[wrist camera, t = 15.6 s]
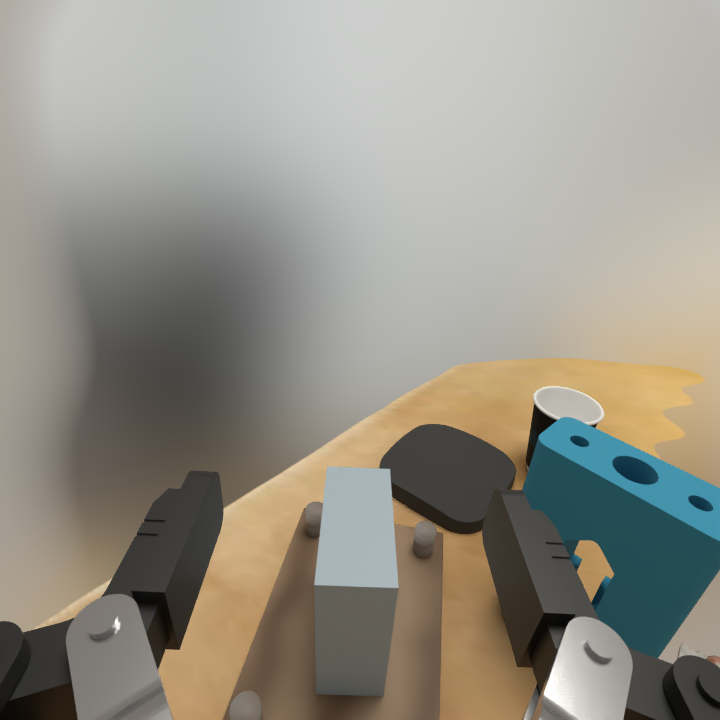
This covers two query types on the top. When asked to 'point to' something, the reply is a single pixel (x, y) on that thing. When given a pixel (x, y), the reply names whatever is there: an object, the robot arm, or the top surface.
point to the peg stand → (297, 638)
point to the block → (629, 527)
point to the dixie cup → (560, 411)
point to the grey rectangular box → (355, 583)
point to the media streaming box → (447, 475)
